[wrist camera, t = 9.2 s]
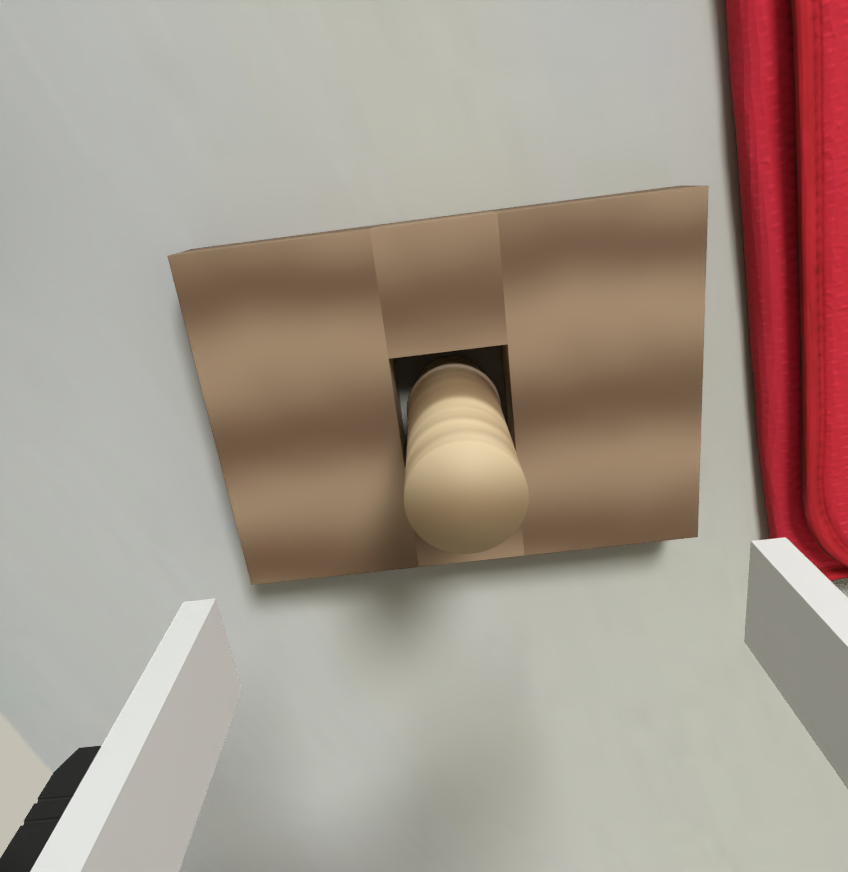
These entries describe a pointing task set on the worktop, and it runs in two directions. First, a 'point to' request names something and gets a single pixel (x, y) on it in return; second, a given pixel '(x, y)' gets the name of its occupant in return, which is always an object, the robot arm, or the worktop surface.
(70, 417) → the worktop surface
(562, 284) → the walnut board
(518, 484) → the oak peg
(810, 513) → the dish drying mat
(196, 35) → the worktop surface
